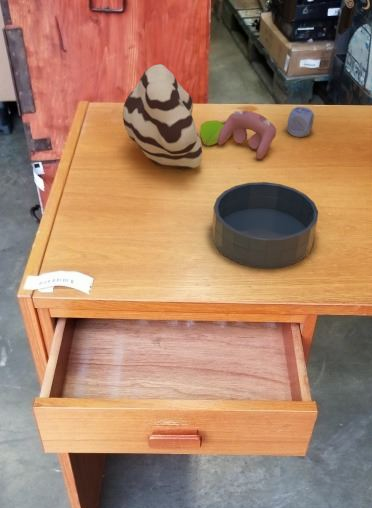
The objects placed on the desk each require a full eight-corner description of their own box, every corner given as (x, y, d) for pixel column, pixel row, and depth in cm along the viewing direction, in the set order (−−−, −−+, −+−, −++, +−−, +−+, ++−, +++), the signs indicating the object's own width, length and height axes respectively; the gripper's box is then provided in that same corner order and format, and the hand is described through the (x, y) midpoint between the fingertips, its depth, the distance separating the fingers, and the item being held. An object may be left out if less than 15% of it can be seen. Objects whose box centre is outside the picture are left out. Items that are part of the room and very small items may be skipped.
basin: (327, 228, 93) (333, 200, 89) (287, 281, 84) (292, 252, 80) (240, 200, 98) (243, 172, 94) (194, 247, 89) (195, 218, 85)
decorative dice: (305, 138, 112) (309, 117, 109) (285, 134, 113) (288, 113, 110) (311, 130, 115) (315, 109, 112) (292, 125, 116) (295, 105, 113)
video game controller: (269, 161, 109) (283, 122, 106) (260, 160, 105) (274, 119, 102) (224, 145, 113) (236, 106, 110) (213, 142, 109) (225, 102, 106)
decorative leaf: (245, 138, 113) (246, 133, 112) (207, 147, 109) (208, 142, 108) (223, 119, 117) (223, 115, 116) (185, 128, 113) (185, 123, 112)
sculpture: (210, 185, 101) (215, 95, 89) (138, 194, 99) (133, 102, 87) (180, 125, 115) (181, 41, 104) (117, 132, 113) (110, 46, 102)
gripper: (401, -100, 87) (372, 30, 99) (292, -114, 92) (278, 11, 105) (385, -91, 82) (356, 43, 95) (272, -106, 88) (259, 23, 101)
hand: (315, 26), depth 100 cm, fingers open, 9 cm apart
